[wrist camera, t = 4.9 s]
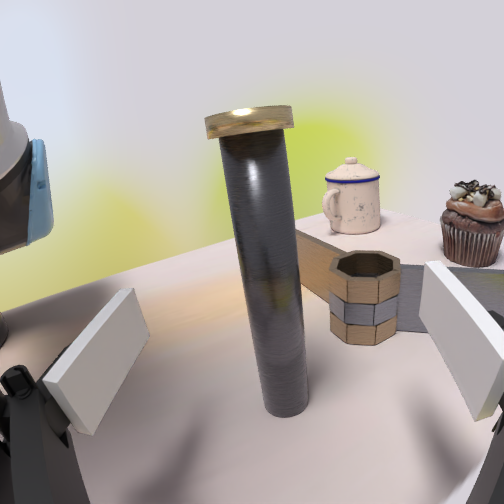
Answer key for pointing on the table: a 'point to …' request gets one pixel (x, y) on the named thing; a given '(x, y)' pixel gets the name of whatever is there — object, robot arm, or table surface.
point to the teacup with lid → (352, 198)
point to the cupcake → (473, 224)
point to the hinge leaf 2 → (419, 297)
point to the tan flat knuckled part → (350, 283)
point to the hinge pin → (266, 247)
